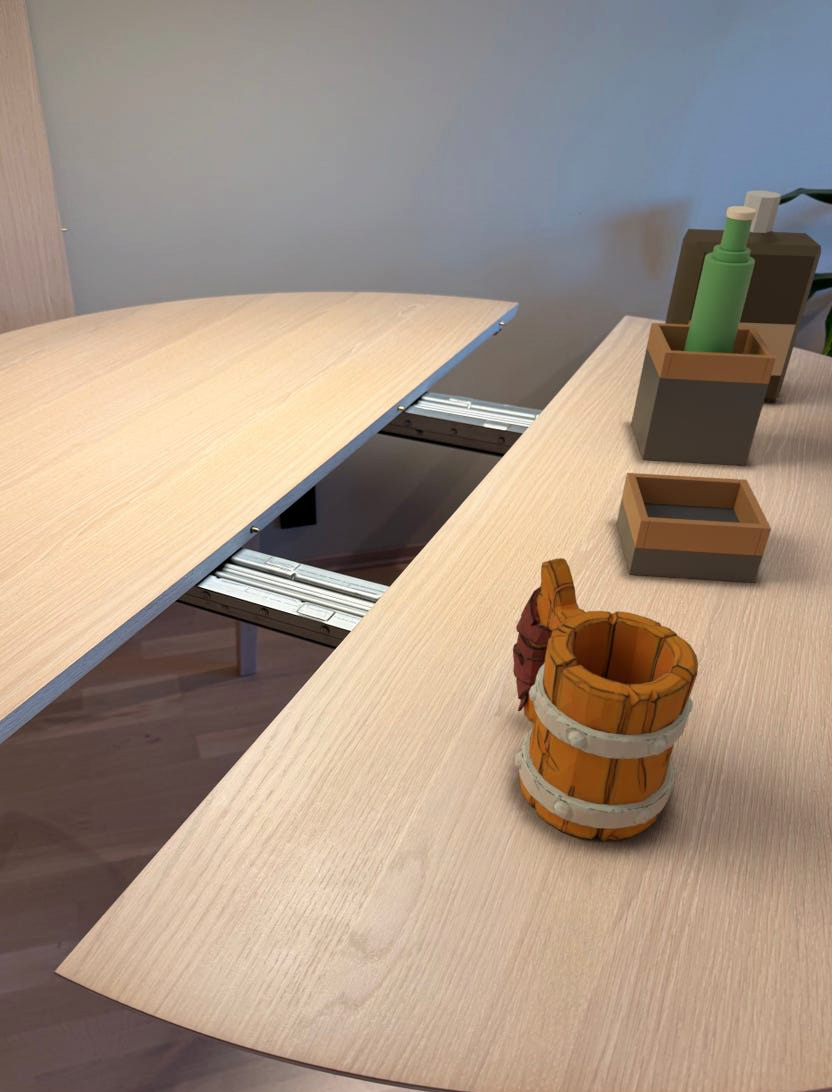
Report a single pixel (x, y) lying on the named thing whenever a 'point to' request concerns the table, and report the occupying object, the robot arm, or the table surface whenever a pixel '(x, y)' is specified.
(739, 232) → the green bottle
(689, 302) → the dark boxy piece
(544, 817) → the mug
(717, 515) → the shallow open tray
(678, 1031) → the table surface
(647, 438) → the grey storage bin
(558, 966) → the table surface
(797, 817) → the table surface
